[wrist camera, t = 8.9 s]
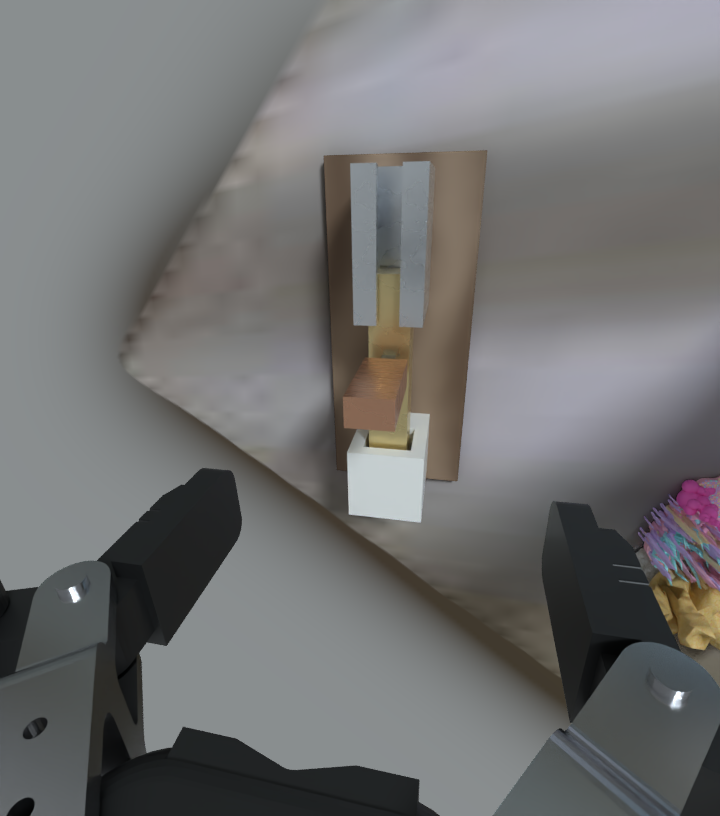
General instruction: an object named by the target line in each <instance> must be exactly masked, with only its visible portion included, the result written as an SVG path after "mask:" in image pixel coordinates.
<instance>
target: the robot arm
mask: <svg viewBox="0 0 720 816" xmlns="http://www.w3.org/2000/svg"><path fill="white" fill-rule="evenodd" d="M241 525H242V517H241V512H240V505H239V500H238V495H237V489H236V483H235V478H234V475H233V473H232V472H231V471H229V470H219V469H208V468H202V469H200V470H199V471H198V472H197V473H196V474H195V475H194V476H193V477H192V478H191V479H190V480H189V481H188V482H187V483H186V484H185V485H180V486H178V487H177V488H175V489H173V490H172V491H170V492H168V493H166V494H165V495H163V496H162V497H161V498H160V499H159V500H158V501H157V502H156V503H155V504H154V505H153V506H152V507H151V508H150V511H147V512H146V513H145V514H144V515H143V516H142V517H141V518H140V519H139V522H136V523H135V524H134V525H133V526H131V527H130V528H129V529H128V530H127V532H125V533H124V534H123V535H122V536H121V537H120V538H119V539H118V540H117V541H116V543H114V544H113V545H112V546H111V547H110V548H109V549H108V550H107V551H106V552H105V553H104V554H103V555H102V556H101V557H100V558H99V559H98V560H97V561H83V562H79V563H75V564H72V565H69V566H67V567H65V568H63V569H61V570H59V571H57V572H56V573H54V574H53V575H51V576H50V577H48V578H47V579H46V580H45V581H44V582H43V583H42V584H41V585H40V586H39V587H35V588H26V589H18V590H10V591H5V589H4V587H3V585H2V583H1V581H0V816H439V815H438V814H436V812H434V811H433V810H431V809H430V808H428V807H426V806H425V805H423V804H421V803H420V802H419V780H418V779H414V778H409V777H405V776H401V775H396V774H391V773H387V772H383V771H378V770H373V769H369V768H365V767H360V766H344V767H332V768H318V769H306V770H289V769H286V768H284V767H282V766H280V765H279V764H277V763H275V762H274V761H272V760H270V759H269V758H267V757H265V756H264V755H262V754H261V753H259V752H257V751H255V750H254V749H252V748H251V747H249V746H247V745H246V744H244V743H243V742H241V741H239V740H238V739H235V738H231V737H226V736H222V735H217V734H213V733H208V732H204V731H200V730H195V729H191V728H186V727H183V728H182V730H181V732H180V734H179V736H178V737H177V739H176V741H175V743H174V745H173V747H172V748H166V749H161V750H156V751H152V752H149V753H146V748H145V741H144V725H143V724H144V722H143V691H142V662H141V657H140V654H139V652H140V651H141V649H142V648H143V647H144V645H145V644H146V642H148V643H154V644H159V645H164V646H167V645H168V643H169V641H170V640H171V639H172V637H173V635H174V634H175V632H176V631H177V629H178V628H179V627H180V625H181V624H182V622H183V620H184V619H185V617H186V616H187V615H188V613H189V612H190V610H191V609H192V607H193V606H194V604H195V603H196V601H197V600H198V598H199V596H200V595H201V594H202V592H203V591H204V589H205V588H206V586H207V585H208V583H209V582H210V580H211V579H212V577H213V576H214V574H215V573H216V571H217V570H218V568H219V567H220V565H221V564H222V562H223V561H224V559H225V558H226V556H227V555H228V553H229V552H230V550H231V549H232V547H233V546H234V544H235V543H236V541H237V539H238V537H239V534H240V531H241ZM542 577H543V584H544V589H545V594H546V600H547V605H548V610H549V615H550V621H551V626H552V631H553V636H554V641H555V647H556V652H557V657H558V662H559V668H560V673H561V678H562V683H563V688H564V694H565V699H566V704H567V709H568V714H569V720H570V723H572V724H571V725H570V726H569V727H568V729H567V730H565V731H563V730H562V729H558V730H556V731H555V732H554V733H553V734H552V735H551V736H550V737H549V739H548V740H547V741H546V743H545V744H544V746H543V747H542V748H541V750H540V751H539V752H538V754H537V755H536V757H535V758H534V759H533V761H532V762H531V763H530V765H529V766H528V767H527V769H526V770H525V772H524V773H523V774H522V776H521V777H520V779H519V780H518V781H517V783H516V784H515V785H514V787H513V788H512V790H511V791H510V792H509V794H508V795H507V796H506V798H505V799H504V801H503V802H502V803H501V805H500V806H499V808H498V809H497V810H496V812H495V813H494V815H493V816H720V688H719V686H718V685H717V683H716V682H715V680H714V679H713V678H712V677H711V675H710V674H709V673H708V672H707V671H706V670H705V669H704V668H703V667H702V666H701V665H699V664H698V663H697V662H696V661H694V660H693V659H692V658H690V657H689V656H687V655H685V654H684V653H682V652H681V651H680V649H679V647H678V644H677V642H676V640H675V638H674V636H673V634H672V631H671V629H670V627H669V625H668V623H667V621H666V619H665V616H664V614H663V612H662V610H661V608H660V606H659V603H658V601H657V599H656V597H655V595H654V593H653V590H652V588H651V587H649V582H648V580H647V577H646V575H645V573H644V571H643V570H641V565H640V562H639V560H638V558H637V556H636V554H635V552H634V549H633V547H632V546H631V545H630V544H629V543H628V542H627V541H626V540H625V539H623V538H622V537H621V536H620V535H619V534H618V533H617V532H616V531H615V530H612V529H602V528H598V526H597V523H596V520H595V518H594V515H593V513H592V510H591V508H590V506H589V505H588V504H577V503H567V502H556V501H553V502H552V504H551V507H550V513H549V518H548V524H547V530H546V536H545V542H544V548H543V555H542Z"/></svg>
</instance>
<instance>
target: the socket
mask: <svg viewBox="0 0 720 816" xmlns="http://www.w3.org/2000/svg"><path fill="white" fill-rule="evenodd" d="M429 419H430V414H422V413H410V440H409V450H397V449H385V448H373V447H369V430H364V429H357V430H356V433H355V435H354V437H353V440H352V442H351V444H350V447H349V449H348V451H347V468H348V501H349V514H350V515H359V516H368V517H377V518H386V519H395V520H404V521H413V522H421V517H422V507H423V498H424V489H425V480H426V471H427V455H428V437H429Z"/></svg>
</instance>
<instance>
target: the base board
mask: <svg viewBox="0 0 720 816" xmlns="http://www.w3.org/2000/svg"><path fill="white" fill-rule="evenodd" d="M486 160H487V150H485V151H453V152H422V153H390V154H359V155H327V156H324V174H325V198H326V222H327V246H328V270H329V294H330V318H331V342H332V366H333V390H334V414H335V438H336V462H337V470H342V471H348V468H347V451H348V449H349V447H350V444H351V442H352V440H353V437H354V435H355V433H356V430H357V429H351V428H344V417H343V395H344V394H345V392H346V390H347V388H348V387H349V385H350V383H351V381H352V380H353V378H354V376H355V374H356V372H357V371H358V369H359V367H360V365H361V364H362V362H363V360H364V358H369V334H368V326H362V325H354V323H353V274H352V225H351V175H350V163H378V167H383V166H403V162H415V161H430V162H431V163H432V164H433V165H434V167H435V184H434V204H433V224H432V245H431V265H430V285H429V305H428V309H427V312H426V316H425V320H424V324H423V328H417V327H414V330H413V358H412V385H411V413H422V414H430V419H429V437H428V455H427V471H426V478H427V479H438V480H449V481H457V480H458V469H459V458H460V447H461V436H462V425H463V414H464V403H465V392H466V381H467V370H468V359H469V348H470V336H471V325H472V314H473V303H474V292H475V281H476V270H477V259H478V248H479V237H480V226H481V215H482V204H483V193H484V182H485V171H486Z"/></svg>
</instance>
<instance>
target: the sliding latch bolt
mask: <svg viewBox="0 0 720 816" xmlns="http://www.w3.org/2000/svg"><path fill="white" fill-rule="evenodd" d="M399 311H400V268H381V267H378V311H377V325H376V326H368V334H369V358H364V360H363V362H362V364H361V365H360V367H359V369H358V371H357V372H356V374H355V376H354V378H353V380H352V381H351V383H350V385H349V387H348V388H347V390H346V392H345V394H344V395H343V417H344V428H351V429H364V430H369V447H373V448H385V449H397V450H409V440H410V413H411V385H412V358H413V330H414V327H399Z"/></svg>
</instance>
